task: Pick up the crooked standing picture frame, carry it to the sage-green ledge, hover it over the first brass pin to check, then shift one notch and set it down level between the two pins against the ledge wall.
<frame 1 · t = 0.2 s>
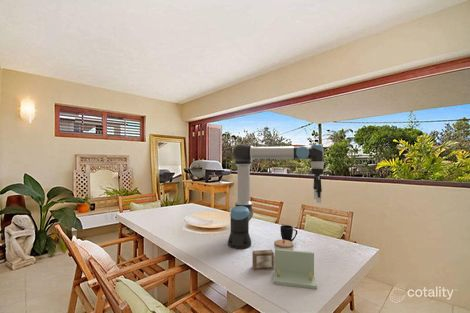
hand: (317, 200, 148), 28 cm above the table, fingers open, 13 cm apart
ledge: (294, 279, 103), on the table
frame: (263, 267, 115), on the table
mug: (289, 241, 152), on the table
lidded jar: (283, 256, 128), on the table
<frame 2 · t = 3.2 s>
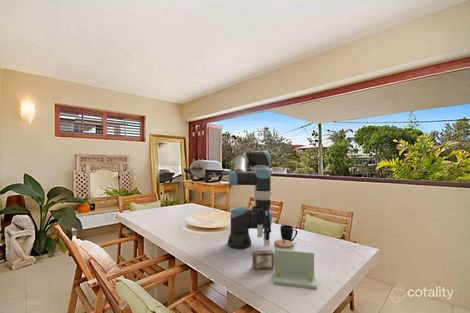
hand: (263, 241, 115), 13 cm above the table, fingers open, 13 cm apart
nothing on the table moved.
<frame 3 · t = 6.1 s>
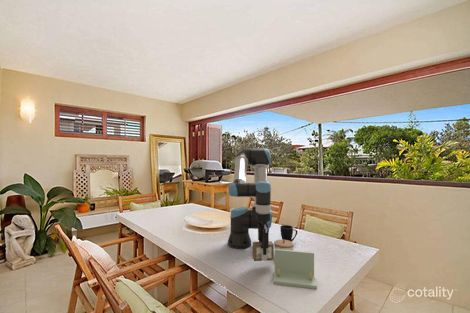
hand: (263, 258, 116), 4 cm above the table, fingers closed on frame, 4 cm apart
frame: (262, 258, 116), point 4 cm above the table, touching gripper
everything else where it was.
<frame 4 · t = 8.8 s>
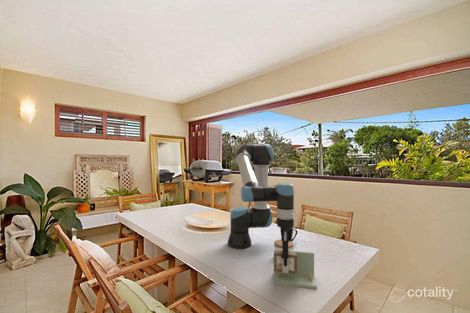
hand: (285, 269, 103), 5 cm above the table, fingers closed on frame, 4 cm apart
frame: (285, 270, 103), point 4 cm above the table, touching gripper, ledge
everything else where it was.
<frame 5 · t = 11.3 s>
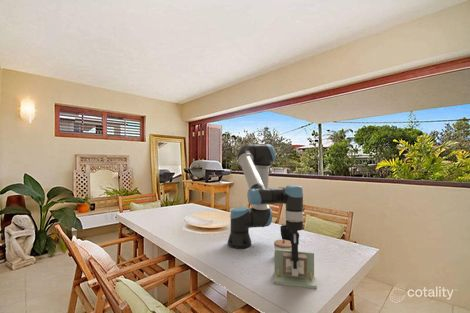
hand: (294, 272, 102), 4 cm above the table, fingers closed on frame, 4 cm apart
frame: (294, 273, 102), point 3 cm above the table, touching gripper
everything else where it was.
when the fingers open (4 cm above the table, at t = 13.1 s): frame stays where it is, resting on ledge.
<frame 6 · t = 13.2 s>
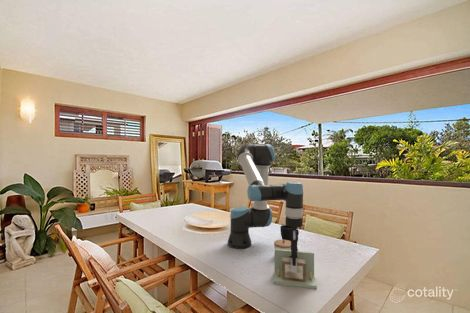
hand: (293, 268, 102), 6 cm above the table, fingers open, 6 cm apart
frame: (293, 278, 102), point 1 cm above the table, touching ledge
everything else where it was.
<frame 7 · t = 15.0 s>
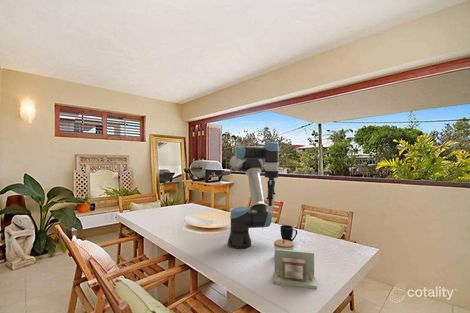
hand: (271, 208, 125), 27 cm above the table, fingers open, 13 cm apart
nothing on the table moved.
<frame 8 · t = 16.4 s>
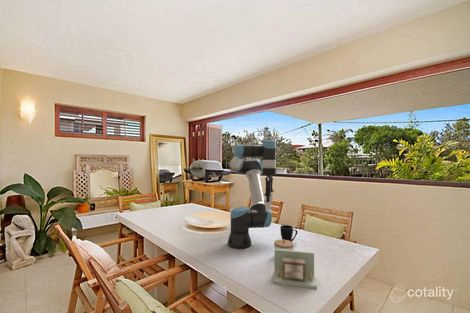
hand: (269, 205, 127), 29 cm above the table, fingers open, 13 cm apart
nothing on the table moved.
at the end: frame 0.6 cm off-centre on the ledge, point 1.2 cm above the ledge's base; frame tilted 0°; the gripper is holding nothing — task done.
